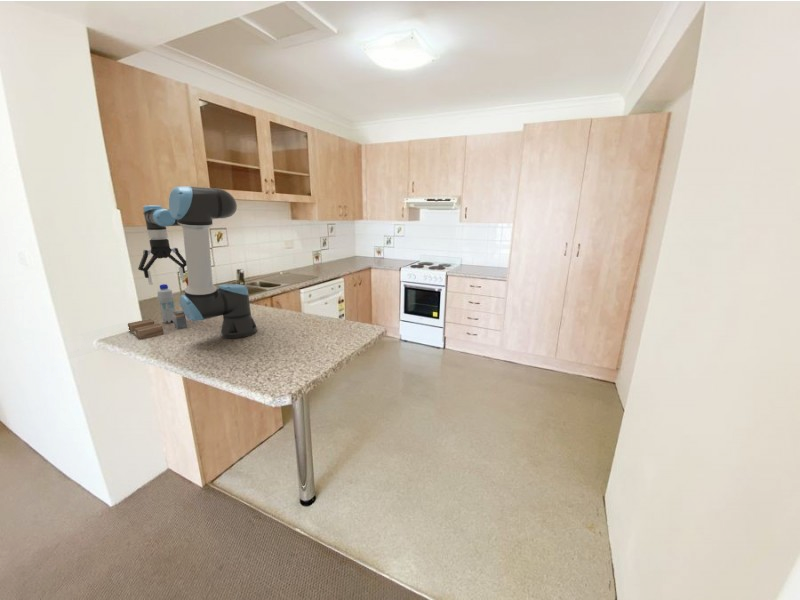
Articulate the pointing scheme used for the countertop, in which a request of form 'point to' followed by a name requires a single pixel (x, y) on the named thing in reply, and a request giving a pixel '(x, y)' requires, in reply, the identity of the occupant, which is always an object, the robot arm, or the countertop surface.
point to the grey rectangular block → (179, 320)
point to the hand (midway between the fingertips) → (167, 282)
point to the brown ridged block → (145, 329)
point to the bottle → (166, 303)
